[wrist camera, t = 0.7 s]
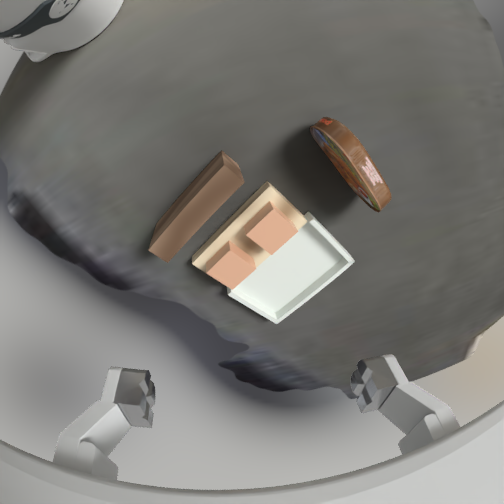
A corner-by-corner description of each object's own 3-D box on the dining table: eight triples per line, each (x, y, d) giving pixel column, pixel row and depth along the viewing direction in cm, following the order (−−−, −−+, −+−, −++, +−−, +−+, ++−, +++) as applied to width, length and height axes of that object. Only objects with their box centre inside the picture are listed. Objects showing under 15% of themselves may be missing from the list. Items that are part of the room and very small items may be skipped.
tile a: (243, 225, 39) (245, 235, 37) (269, 200, 37) (273, 208, 35) (268, 245, 41) (271, 255, 39) (293, 222, 40) (298, 231, 38)
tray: (226, 285, 47) (227, 294, 45) (308, 211, 41) (313, 218, 39) (274, 314, 53) (276, 324, 51) (349, 253, 47) (354, 261, 45)
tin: (301, 123, 34) (325, 135, 27) (318, 109, 33) (346, 118, 26) (357, 198, 41) (384, 224, 34) (372, 186, 40) (401, 210, 33)
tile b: (206, 262, 41) (206, 273, 39) (228, 240, 40) (230, 250, 38) (231, 279, 44) (232, 289, 42) (253, 258, 42) (256, 268, 40)
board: (192, 256, 43) (191, 263, 41) (267, 180, 38) (270, 186, 36) (230, 281, 47) (231, 289, 45) (303, 215, 42) (307, 221, 40)
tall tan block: (156, 223, 39) (148, 250, 33) (221, 150, 35) (224, 164, 29) (172, 234, 40) (167, 262, 35) (238, 164, 36) (244, 182, 30)
